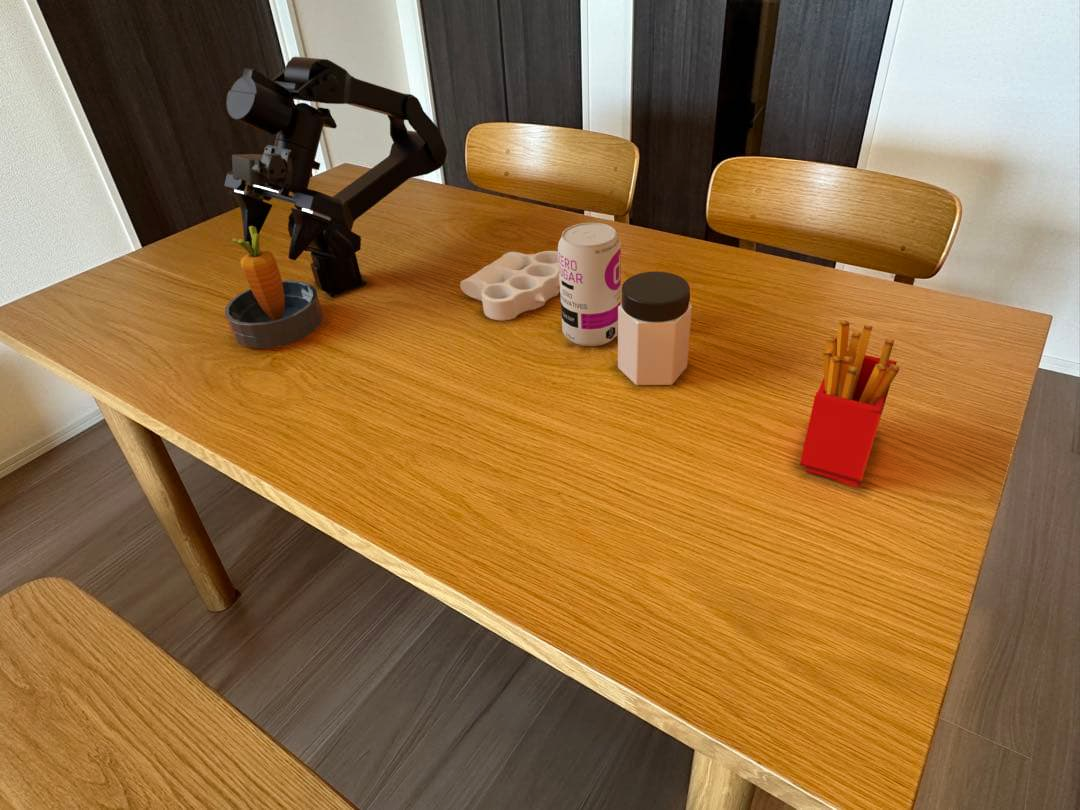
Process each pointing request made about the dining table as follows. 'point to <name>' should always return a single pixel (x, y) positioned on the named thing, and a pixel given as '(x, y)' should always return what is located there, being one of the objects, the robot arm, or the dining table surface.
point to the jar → (654, 328)
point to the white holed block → (515, 284)
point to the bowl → (263, 331)
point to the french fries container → (847, 407)
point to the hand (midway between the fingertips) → (269, 252)
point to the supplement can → (590, 283)
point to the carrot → (263, 276)
